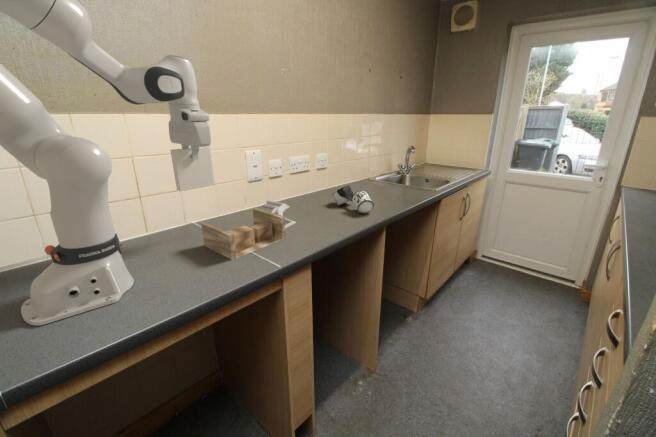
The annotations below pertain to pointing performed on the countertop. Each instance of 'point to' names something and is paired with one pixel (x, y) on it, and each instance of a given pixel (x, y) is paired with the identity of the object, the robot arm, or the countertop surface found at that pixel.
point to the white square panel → (192, 168)
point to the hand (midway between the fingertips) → (191, 158)
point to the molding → (279, 210)
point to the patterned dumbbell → (354, 199)
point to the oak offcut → (243, 238)
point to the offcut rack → (225, 240)
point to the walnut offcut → (262, 231)
